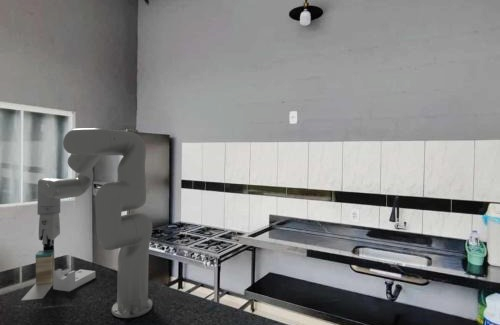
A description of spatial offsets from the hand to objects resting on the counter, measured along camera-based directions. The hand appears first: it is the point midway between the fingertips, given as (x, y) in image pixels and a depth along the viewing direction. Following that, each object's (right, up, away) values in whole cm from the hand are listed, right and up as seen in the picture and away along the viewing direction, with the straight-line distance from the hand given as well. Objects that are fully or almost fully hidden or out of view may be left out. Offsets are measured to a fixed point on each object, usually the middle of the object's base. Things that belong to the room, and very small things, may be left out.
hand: (48, 255), depth 120 cm
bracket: (+12, -11, -3) cm, 16 cm away
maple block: (+1, -9, -3) cm, 10 cm away
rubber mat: (+2, -10, -7) cm, 13 cm away
